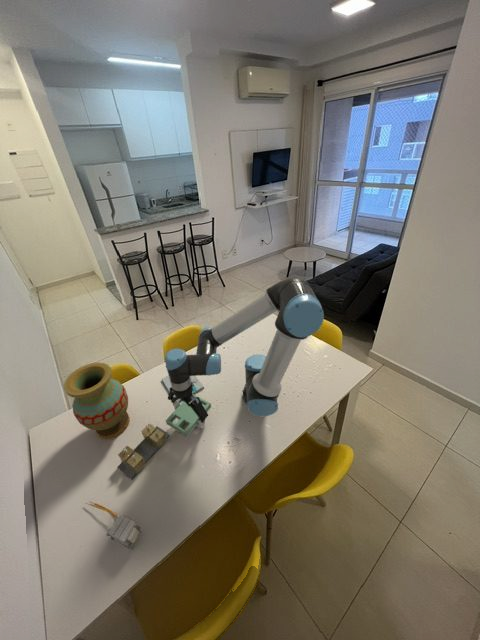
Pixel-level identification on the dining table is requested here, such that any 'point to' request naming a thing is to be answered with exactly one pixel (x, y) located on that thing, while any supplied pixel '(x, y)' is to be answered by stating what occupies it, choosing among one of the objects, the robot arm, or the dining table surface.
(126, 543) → the electrical component
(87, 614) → the dining table surface
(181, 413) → the board
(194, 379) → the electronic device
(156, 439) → the chassis
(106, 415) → the vase
